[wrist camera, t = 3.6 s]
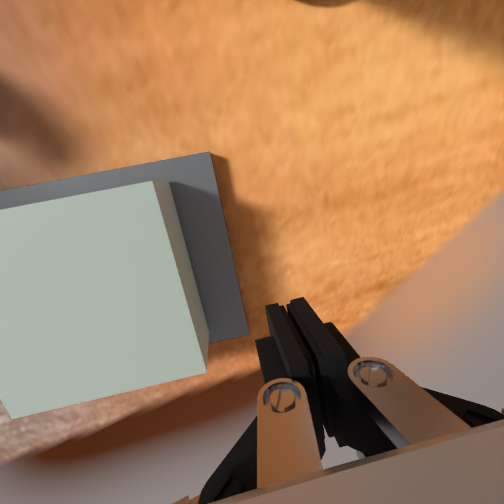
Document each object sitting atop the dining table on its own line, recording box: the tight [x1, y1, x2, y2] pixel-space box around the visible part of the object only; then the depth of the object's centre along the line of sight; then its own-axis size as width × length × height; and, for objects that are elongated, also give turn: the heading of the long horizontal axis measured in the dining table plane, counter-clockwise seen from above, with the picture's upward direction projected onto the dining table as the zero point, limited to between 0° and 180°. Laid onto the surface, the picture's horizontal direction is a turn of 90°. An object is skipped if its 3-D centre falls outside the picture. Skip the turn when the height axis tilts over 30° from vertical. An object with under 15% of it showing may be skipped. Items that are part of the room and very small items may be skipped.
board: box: [0, 152, 249, 344], centre depth 22 cm, size 29×16×1 cm, turn 101°
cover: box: [0, 180, 209, 419], centre depth 19 cm, size 13×13×5 cm
